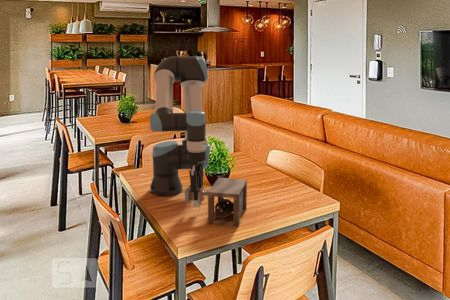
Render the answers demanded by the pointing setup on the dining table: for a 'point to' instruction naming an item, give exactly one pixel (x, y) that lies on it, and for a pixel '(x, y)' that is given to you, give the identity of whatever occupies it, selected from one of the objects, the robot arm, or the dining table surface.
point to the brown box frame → (205, 193)
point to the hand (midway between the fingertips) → (197, 205)
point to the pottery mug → (224, 208)
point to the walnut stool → (227, 189)
